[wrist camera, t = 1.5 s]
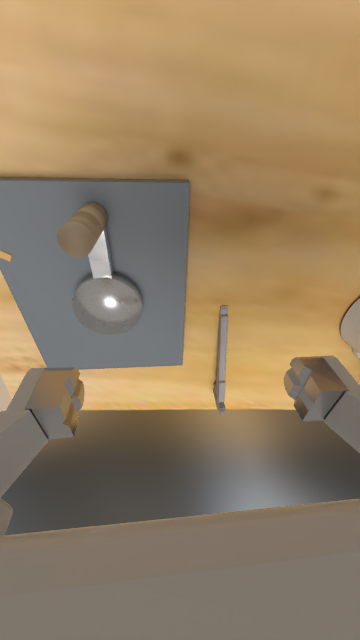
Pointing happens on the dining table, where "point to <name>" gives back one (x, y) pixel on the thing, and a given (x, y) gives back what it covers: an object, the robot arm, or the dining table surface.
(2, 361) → the dining table surface
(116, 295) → the wooden knob lever
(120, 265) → the base plate
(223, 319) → the caliper
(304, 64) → the dining table surface
